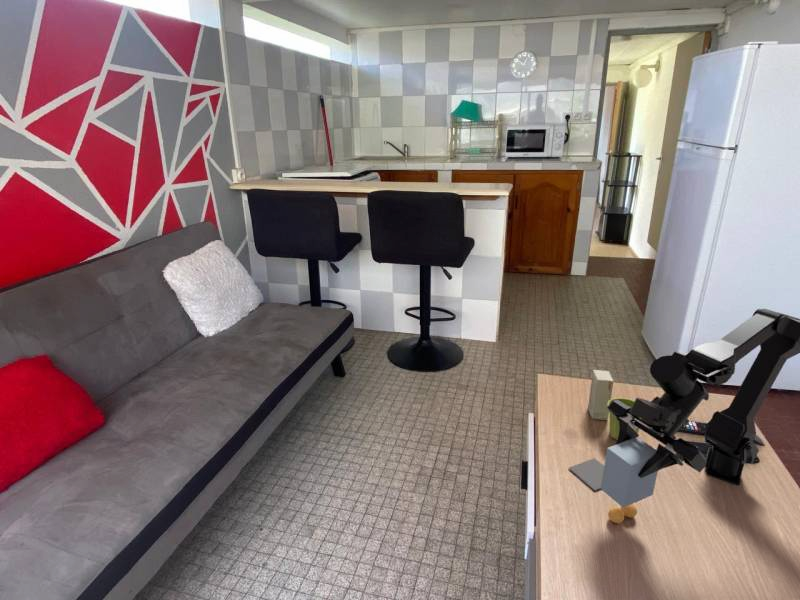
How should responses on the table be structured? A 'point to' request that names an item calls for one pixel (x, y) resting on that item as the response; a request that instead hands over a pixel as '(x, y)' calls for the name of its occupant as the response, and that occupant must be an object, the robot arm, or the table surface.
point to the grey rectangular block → (628, 472)
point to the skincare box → (600, 394)
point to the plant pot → (613, 422)
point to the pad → (589, 473)
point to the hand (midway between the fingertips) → (626, 467)
